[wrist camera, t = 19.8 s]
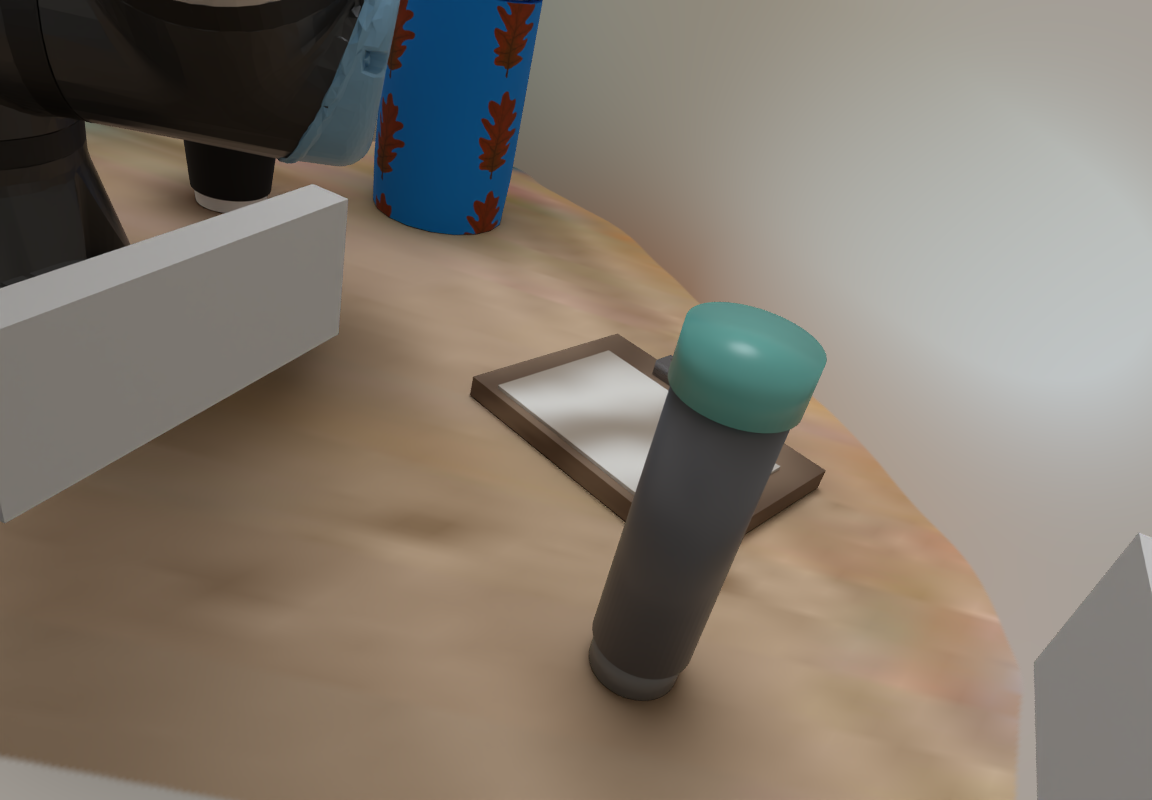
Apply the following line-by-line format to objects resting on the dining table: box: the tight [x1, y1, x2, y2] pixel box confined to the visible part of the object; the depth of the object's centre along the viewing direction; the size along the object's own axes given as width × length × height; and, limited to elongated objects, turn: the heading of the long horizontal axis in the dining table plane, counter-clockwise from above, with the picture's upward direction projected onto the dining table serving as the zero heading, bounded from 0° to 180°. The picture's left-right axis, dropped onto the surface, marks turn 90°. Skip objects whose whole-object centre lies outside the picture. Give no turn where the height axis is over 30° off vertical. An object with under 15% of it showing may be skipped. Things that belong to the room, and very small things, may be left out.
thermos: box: [373, 0, 542, 235], centre depth 62 cm, size 11×11×25 cm
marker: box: [589, 302, 827, 701], centre depth 29 cm, size 4×4×15 cm
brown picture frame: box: [470, 334, 825, 534], centre depth 46 cm, size 16×12×2 cm
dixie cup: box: [184, 140, 275, 213], centre depth 58 cm, size 8×8×11 cm
